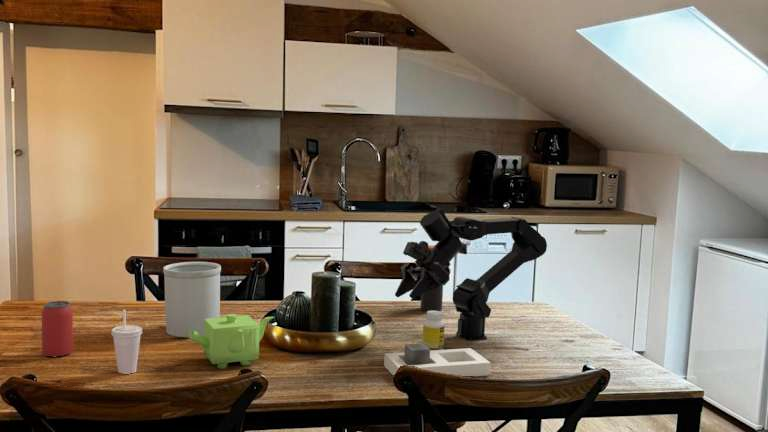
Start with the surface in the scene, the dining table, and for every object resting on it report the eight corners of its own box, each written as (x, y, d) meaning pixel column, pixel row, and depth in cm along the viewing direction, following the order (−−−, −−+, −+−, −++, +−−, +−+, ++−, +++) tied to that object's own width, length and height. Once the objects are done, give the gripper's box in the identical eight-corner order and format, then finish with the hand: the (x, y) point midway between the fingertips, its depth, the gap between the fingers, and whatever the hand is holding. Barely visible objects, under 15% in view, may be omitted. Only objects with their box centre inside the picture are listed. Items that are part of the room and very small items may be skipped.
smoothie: (116, 366, 156) (116, 305, 154) (145, 367, 156) (145, 306, 154) (107, 376, 149) (107, 313, 148) (138, 377, 150) (138, 313, 148)
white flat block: (469, 360, 170) (470, 348, 169) (489, 375, 159) (490, 362, 159) (384, 365, 163) (384, 353, 163) (399, 382, 153) (399, 369, 152)
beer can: (79, 351, 165) (78, 302, 164) (58, 359, 159) (57, 308, 157) (57, 348, 167) (56, 299, 166) (35, 355, 161) (34, 305, 159)
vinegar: (435, 313, 214) (438, 249, 211) (416, 309, 217) (419, 246, 215) (445, 308, 219) (448, 246, 217) (426, 305, 223) (429, 244, 221)
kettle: (273, 356, 167) (274, 311, 165) (246, 375, 153) (247, 326, 152) (218, 349, 171) (218, 304, 169) (186, 367, 157) (186, 319, 156)
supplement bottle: (441, 353, 174) (443, 315, 173) (420, 351, 175) (422, 313, 174) (444, 347, 179) (446, 310, 178) (423, 345, 180) (425, 308, 179)
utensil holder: (151, 333, 181) (150, 267, 179) (187, 320, 195) (187, 259, 193) (197, 341, 176) (198, 274, 174) (231, 327, 190) (232, 264, 188)
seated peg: (422, 368, 162) (423, 343, 162) (428, 374, 158) (430, 349, 158) (403, 369, 161) (404, 344, 160) (410, 376, 157) (411, 350, 156)
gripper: (407, 233, 188) (369, 273, 183) (438, 229, 171) (396, 274, 166) (434, 262, 190) (396, 303, 185) (466, 261, 173) (426, 306, 168)
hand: (403, 296), depth 176 cm, fingers open, 9 cm apart
